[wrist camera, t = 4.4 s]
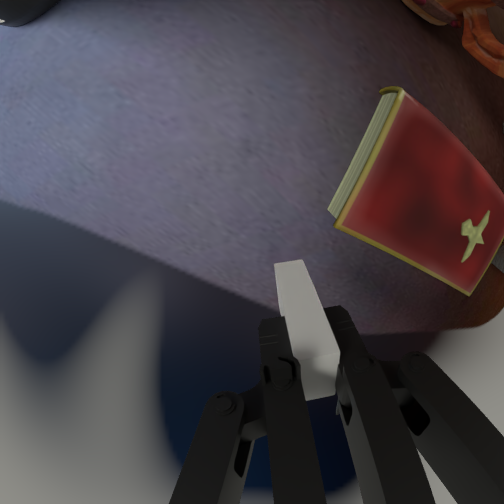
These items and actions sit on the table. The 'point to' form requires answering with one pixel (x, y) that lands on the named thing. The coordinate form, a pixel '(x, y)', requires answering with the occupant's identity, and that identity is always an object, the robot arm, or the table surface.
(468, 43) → the mug
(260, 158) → the table surface
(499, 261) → the end cap
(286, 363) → the robot arm
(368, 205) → the hardcover book
